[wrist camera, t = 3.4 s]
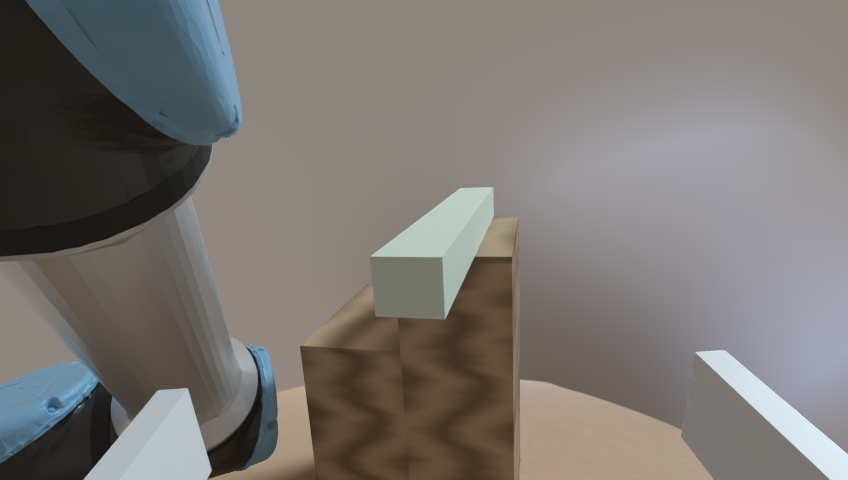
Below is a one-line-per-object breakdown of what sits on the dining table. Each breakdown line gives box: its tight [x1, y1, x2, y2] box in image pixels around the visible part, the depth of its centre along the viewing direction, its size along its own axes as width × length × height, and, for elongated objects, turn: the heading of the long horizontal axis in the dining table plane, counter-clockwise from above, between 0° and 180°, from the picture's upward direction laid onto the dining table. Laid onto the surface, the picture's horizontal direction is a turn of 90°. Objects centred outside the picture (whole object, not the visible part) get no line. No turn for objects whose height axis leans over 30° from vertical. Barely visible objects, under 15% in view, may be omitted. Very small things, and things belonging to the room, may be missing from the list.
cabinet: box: [300, 217, 520, 480], centre depth 50 cm, size 20×18×33 cm
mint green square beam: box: [370, 187, 494, 320], centre depth 39 cm, size 4×32×4 cm, turn 167°
